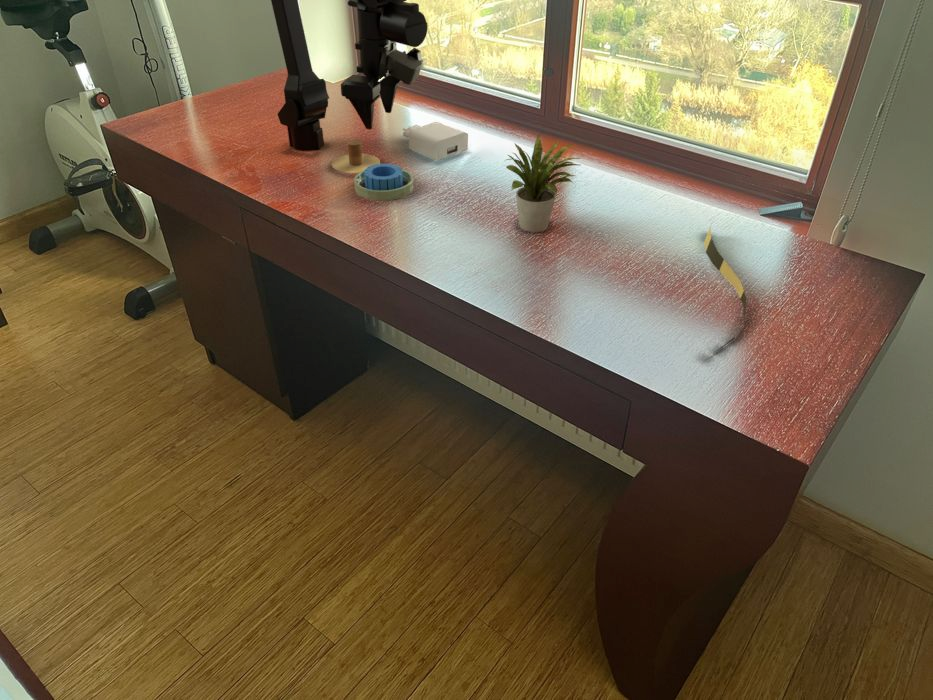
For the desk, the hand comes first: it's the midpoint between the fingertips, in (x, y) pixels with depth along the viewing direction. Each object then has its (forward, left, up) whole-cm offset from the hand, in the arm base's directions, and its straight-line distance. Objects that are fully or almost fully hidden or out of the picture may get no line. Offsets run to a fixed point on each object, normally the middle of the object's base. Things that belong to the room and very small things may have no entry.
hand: (379, 120), depth 143 cm
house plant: (+34, -12, -12) cm, 38 cm away
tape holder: (-7, +3, -12) cm, 14 cm away
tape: (+66, -23, -12) cm, 71 cm away
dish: (+3, -6, -12) cm, 13 cm away
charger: (+4, +17, -12) cm, 21 cm away
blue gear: (+3, -6, -11) cm, 13 cm away
